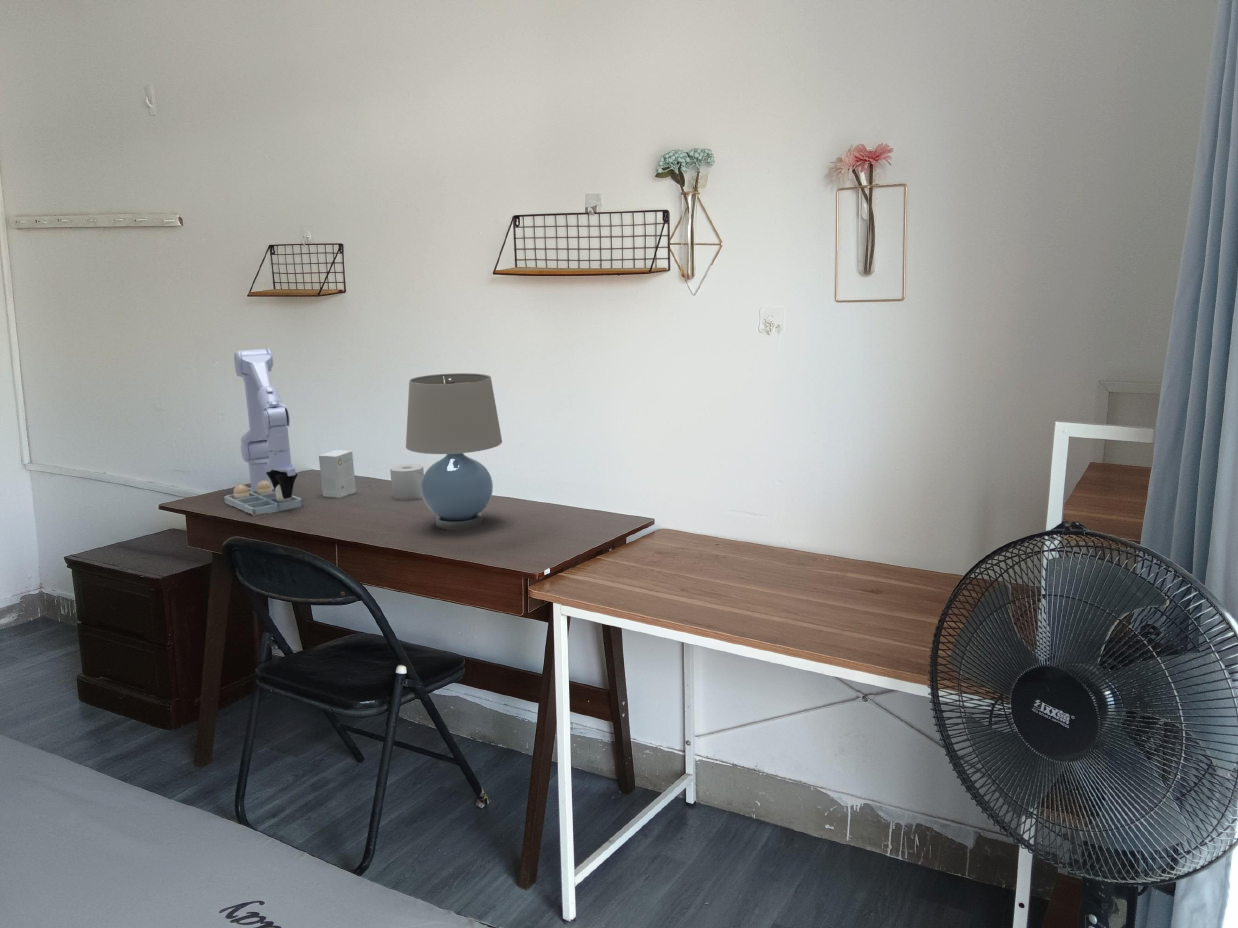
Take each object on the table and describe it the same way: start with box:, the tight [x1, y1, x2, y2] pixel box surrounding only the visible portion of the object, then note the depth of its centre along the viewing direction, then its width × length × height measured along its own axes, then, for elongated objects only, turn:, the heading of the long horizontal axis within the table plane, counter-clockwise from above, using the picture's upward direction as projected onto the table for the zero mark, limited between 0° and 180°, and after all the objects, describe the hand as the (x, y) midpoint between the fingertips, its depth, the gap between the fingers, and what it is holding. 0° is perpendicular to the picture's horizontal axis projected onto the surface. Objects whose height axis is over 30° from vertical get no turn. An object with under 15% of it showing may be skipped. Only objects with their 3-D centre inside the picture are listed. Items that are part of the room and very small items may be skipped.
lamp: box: [405, 372, 503, 531], centre depth 243 cm, size 25×25×39 cm
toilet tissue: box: [389, 463, 425, 501], centre depth 277 cm, size 9×13×9 cm
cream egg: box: [275, 484, 292, 503], centre depth 265 cm, size 4×4×5 cm
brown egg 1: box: [232, 484, 250, 500], centre depth 271 cm, size 4×4×5 cm
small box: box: [318, 449, 357, 499], centre depth 278 cm, size 8×6×13 cm
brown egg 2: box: [257, 480, 272, 495], centre depth 276 cm, size 4×4×5 cm
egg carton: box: [223, 487, 305, 514], centre depth 269 cm, size 14×21×2 cm
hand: (283, 496), depth 266 cm, fingers closed on cream egg, 4 cm apart
